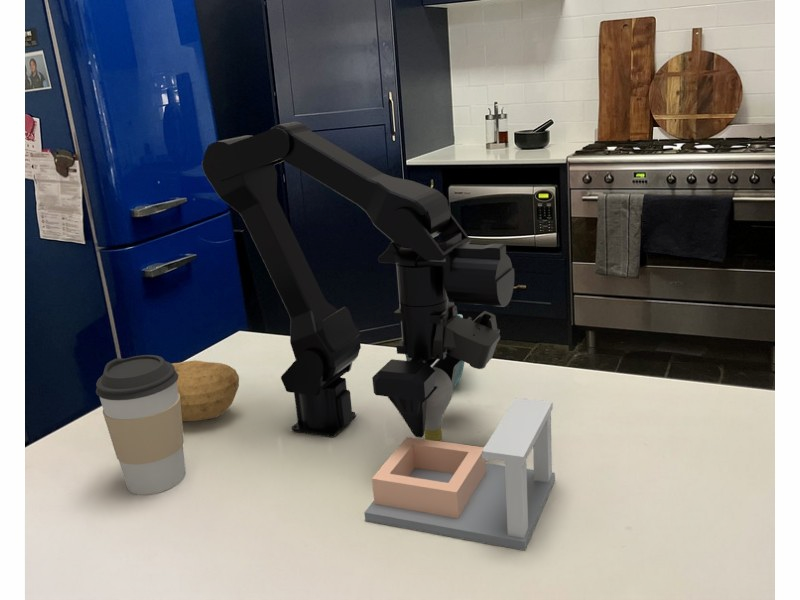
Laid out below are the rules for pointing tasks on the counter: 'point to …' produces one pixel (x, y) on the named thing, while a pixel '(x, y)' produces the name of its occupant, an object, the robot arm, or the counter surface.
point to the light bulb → (437, 405)
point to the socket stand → (471, 482)
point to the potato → (205, 389)
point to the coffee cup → (144, 421)
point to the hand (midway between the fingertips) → (432, 420)
